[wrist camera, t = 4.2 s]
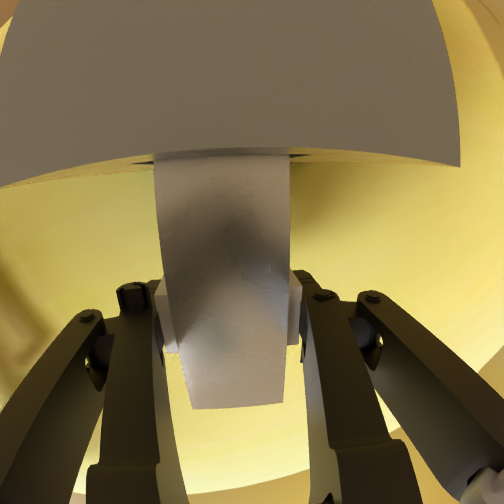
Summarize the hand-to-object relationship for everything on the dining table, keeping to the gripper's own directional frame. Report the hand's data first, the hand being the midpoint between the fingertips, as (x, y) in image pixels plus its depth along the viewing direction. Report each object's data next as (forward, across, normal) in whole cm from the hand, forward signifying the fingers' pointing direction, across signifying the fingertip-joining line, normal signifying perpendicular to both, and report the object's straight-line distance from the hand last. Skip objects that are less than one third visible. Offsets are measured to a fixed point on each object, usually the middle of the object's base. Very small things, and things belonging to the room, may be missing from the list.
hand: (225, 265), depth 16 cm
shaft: (-3, 0, -9) cm, 10 cm away
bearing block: (+3, 0, -10) cm, 10 cm away
